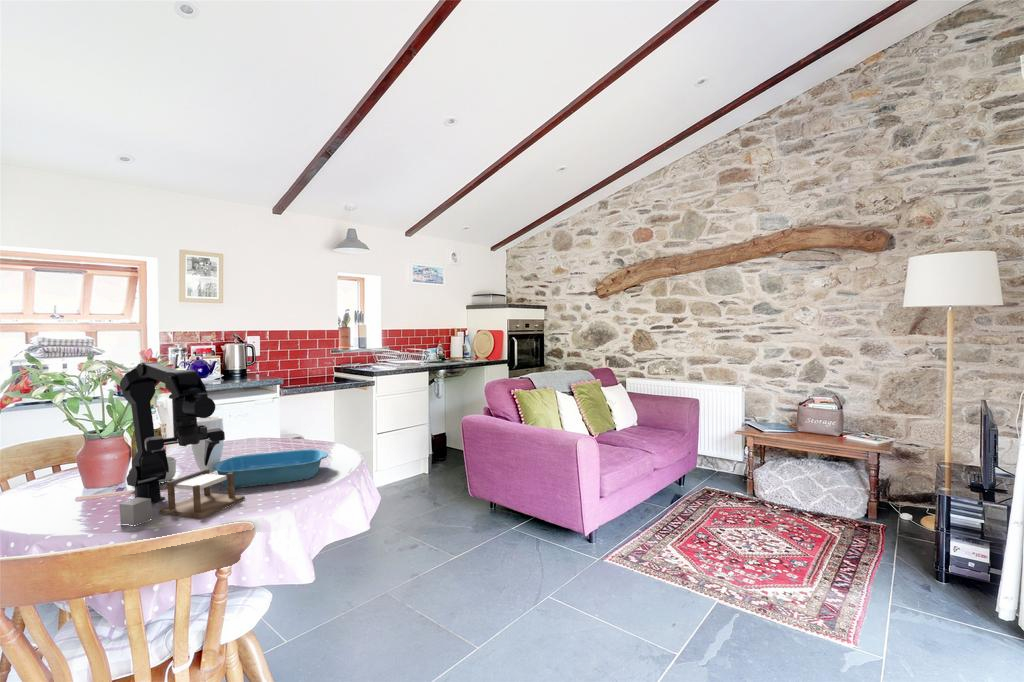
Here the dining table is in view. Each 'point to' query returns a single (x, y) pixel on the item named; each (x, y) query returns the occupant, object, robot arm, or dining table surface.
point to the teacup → (171, 469)
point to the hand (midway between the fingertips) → (187, 468)
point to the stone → (135, 511)
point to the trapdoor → (201, 481)
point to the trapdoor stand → (200, 498)
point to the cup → (200, 447)
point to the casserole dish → (271, 467)
